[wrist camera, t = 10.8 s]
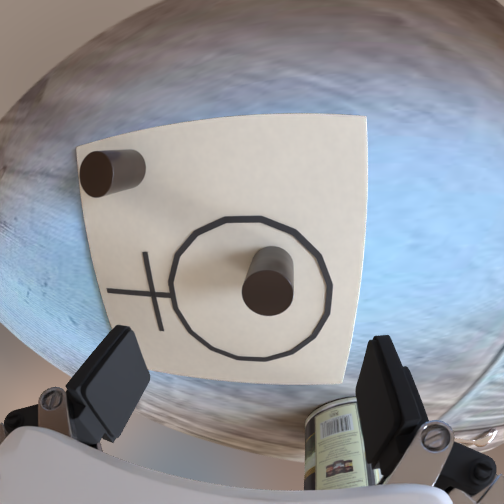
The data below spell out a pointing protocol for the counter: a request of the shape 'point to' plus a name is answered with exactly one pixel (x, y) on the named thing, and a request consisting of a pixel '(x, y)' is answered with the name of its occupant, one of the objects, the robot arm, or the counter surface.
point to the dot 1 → (111, 171)
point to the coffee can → (336, 448)
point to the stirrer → (481, 441)
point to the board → (236, 244)
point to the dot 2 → (269, 282)
